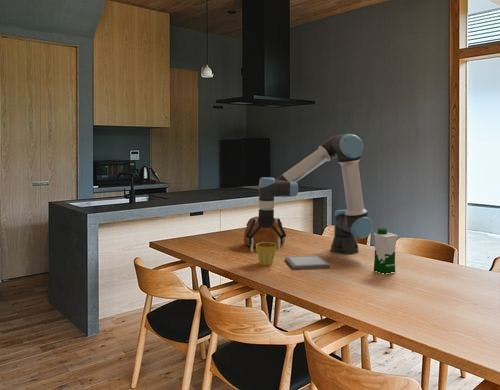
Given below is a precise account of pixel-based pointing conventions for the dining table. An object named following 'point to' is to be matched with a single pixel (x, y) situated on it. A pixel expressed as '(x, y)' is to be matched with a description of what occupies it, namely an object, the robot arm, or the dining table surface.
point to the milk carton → (384, 251)
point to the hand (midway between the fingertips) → (265, 251)
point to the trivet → (307, 262)
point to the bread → (263, 234)
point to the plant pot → (266, 252)
